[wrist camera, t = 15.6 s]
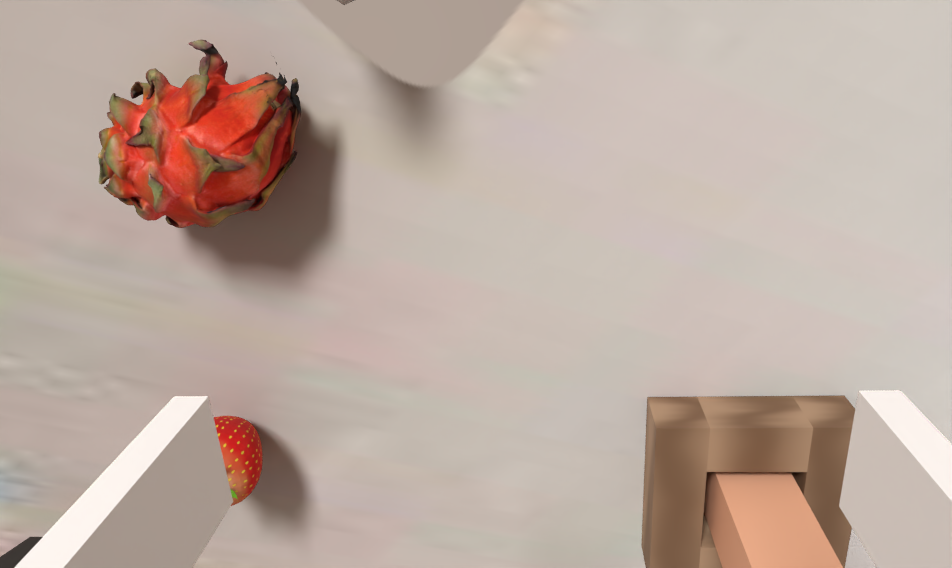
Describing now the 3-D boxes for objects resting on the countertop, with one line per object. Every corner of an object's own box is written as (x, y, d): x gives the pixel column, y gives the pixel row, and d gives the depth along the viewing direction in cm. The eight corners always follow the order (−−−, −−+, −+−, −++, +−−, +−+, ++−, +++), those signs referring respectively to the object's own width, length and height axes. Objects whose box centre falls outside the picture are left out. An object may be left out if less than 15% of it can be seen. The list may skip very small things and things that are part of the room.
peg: (776, 446, 44) (856, 592, 33) (769, 502, 46) (844, 660, 35) (704, 446, 45) (760, 590, 34) (700, 502, 46) (752, 657, 35)
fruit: (194, 425, 47) (130, 502, 40) (234, 377, 46) (175, 449, 38) (257, 470, 48) (206, 553, 41) (298, 425, 47) (254, 504, 39)
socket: (844, 395, 42) (869, 427, 39) (819, 547, 47) (840, 587, 44) (647, 397, 44) (656, 428, 40) (641, 545, 48) (649, 583, 45)
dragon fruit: (148, 165, 42) (316, 73, 41) (184, 284, 40) (365, 188, 38) (33, 95, 34) (238, -22, 33) (68, 238, 32) (292, 116, 30)
